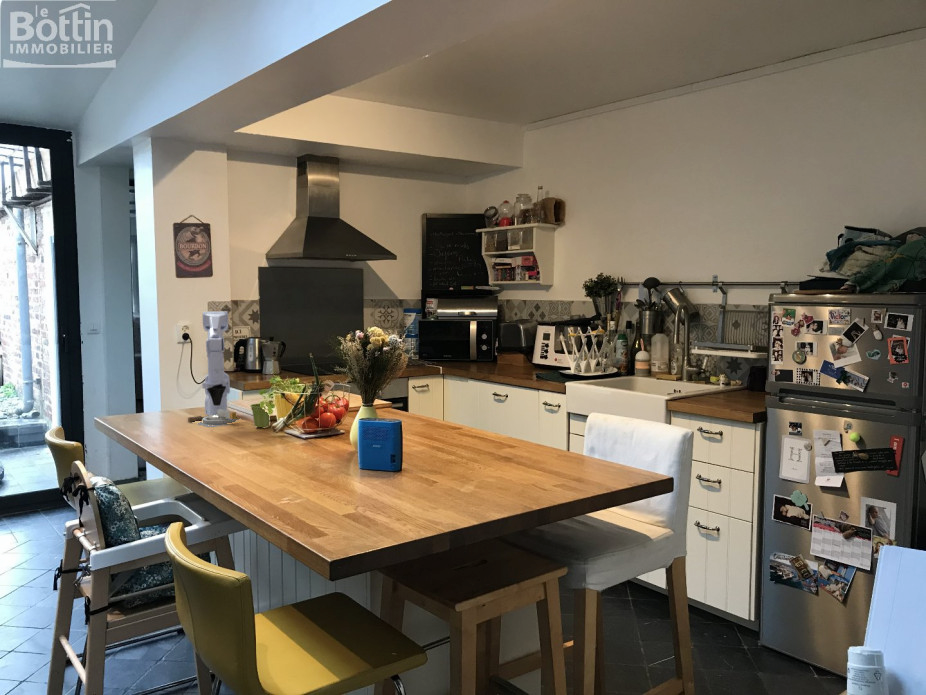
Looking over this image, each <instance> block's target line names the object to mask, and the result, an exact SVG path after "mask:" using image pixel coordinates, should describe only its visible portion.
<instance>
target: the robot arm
mask: <svg viewBox="0 0 926 695" xmlns="http://www.w3.org/2000/svg"><path fill="white" fill-rule="evenodd" d="M202 326H203V329H204V332H207V339H206V341H205V349H206V358H207V374H206V375H205V377H204V383H203V382H202V384H201V386H202V389H204V394H206V397H205V399H204V413H205V415H206V414H207V415H206V416H209V415H213V414H217V410H218V409H223V410H227V411H228V395H229V394H230V393H231V385H230V383H231V382H230V376H229V374H228V373H226V372H225V362H224V361H225V360H224V353H225V338H224V332H226V331H228V329H229V312H228V311H227V310H225V311H222V310H221V311H219V310H218V311H206V310H204V311H203V312H202Z"/></svg>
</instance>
